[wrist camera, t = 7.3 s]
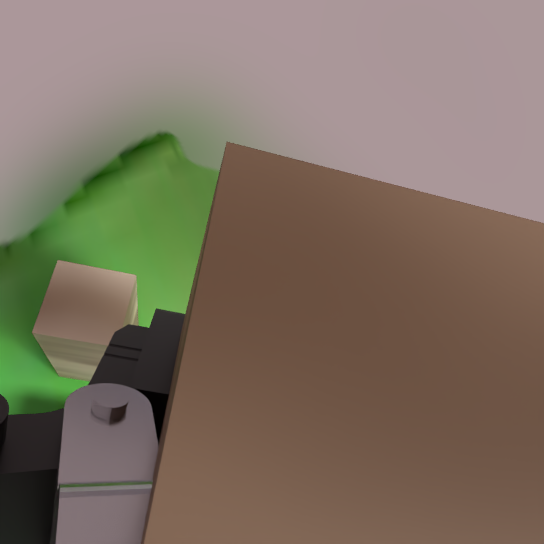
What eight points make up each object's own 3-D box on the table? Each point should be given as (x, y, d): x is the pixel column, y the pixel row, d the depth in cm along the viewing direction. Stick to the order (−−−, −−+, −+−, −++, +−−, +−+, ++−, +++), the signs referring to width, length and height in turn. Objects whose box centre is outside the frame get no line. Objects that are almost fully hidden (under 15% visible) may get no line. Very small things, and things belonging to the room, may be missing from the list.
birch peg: (77, 317, 31) (57, 260, 24) (138, 328, 32) (136, 275, 25) (59, 376, 29) (31, 332, 22) (124, 386, 30) (117, 347, 23)
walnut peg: (163, 407, 17) (226, 140, 5) (267, 424, 18) (545, 223, 6) (136, 528, 15) (139, 561, 3) (254, 542, 16) (616, 615, 4)
